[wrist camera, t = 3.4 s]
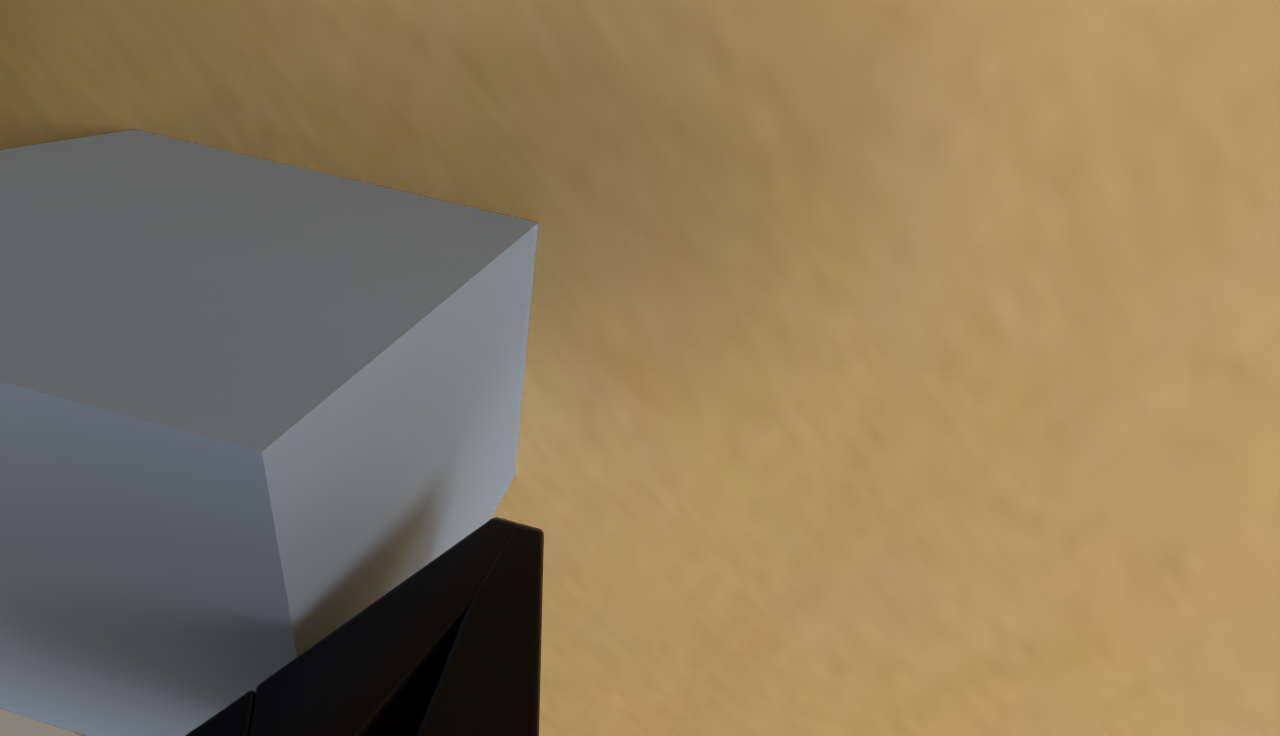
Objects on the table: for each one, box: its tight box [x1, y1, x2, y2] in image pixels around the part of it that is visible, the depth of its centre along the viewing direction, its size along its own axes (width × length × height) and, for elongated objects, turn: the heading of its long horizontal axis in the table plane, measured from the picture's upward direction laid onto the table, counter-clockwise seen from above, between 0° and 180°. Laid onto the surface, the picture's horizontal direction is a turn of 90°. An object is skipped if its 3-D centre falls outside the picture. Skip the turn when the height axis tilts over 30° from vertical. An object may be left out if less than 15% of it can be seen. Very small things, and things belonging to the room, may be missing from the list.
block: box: [0, 129, 538, 736], centre depth 10 cm, size 6×8×7 cm
